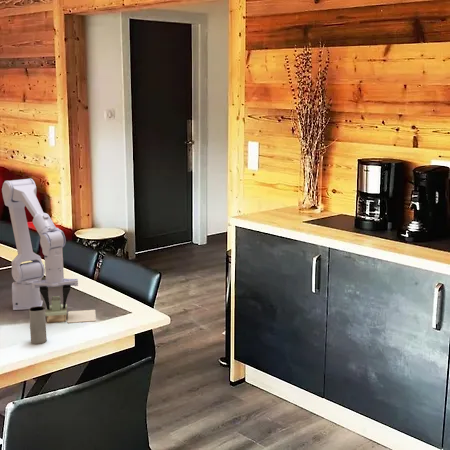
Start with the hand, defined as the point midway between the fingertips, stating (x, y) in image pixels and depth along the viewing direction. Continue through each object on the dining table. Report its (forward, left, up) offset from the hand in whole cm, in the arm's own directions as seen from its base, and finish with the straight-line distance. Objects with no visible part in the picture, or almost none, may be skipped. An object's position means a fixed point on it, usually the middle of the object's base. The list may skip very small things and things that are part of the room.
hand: (56, 307), depth 220 cm
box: (0, 0, -4) cm, 4 cm away
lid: (0, 0, -1) cm, 1 cm away
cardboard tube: (-4, -20, -4) cm, 21 cm away
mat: (+8, 0, -4) cm, 9 cm away
